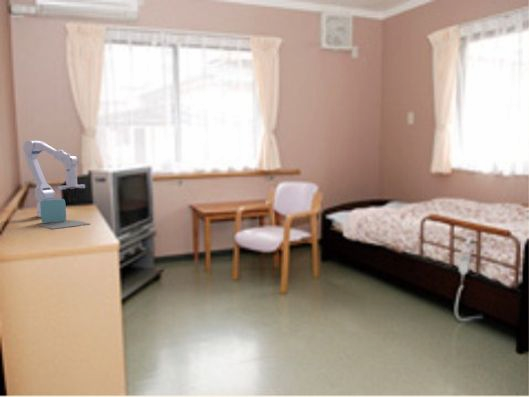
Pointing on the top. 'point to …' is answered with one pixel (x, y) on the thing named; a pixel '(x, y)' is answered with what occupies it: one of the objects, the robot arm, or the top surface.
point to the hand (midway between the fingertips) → (72, 201)
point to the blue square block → (53, 210)
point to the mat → (63, 224)
